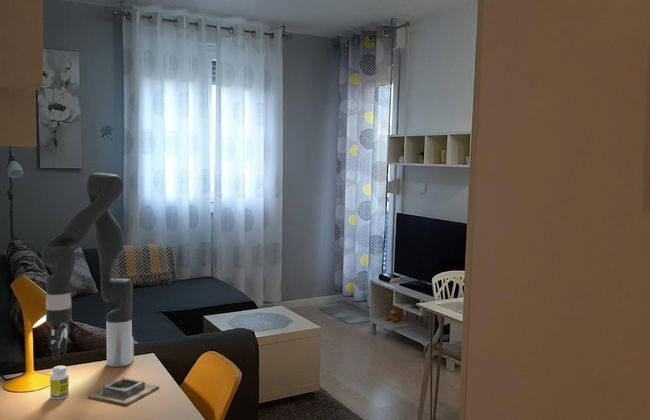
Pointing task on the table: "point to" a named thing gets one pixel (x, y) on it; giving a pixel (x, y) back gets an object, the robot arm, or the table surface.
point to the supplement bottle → (59, 383)
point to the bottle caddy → (123, 391)
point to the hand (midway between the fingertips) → (59, 355)
